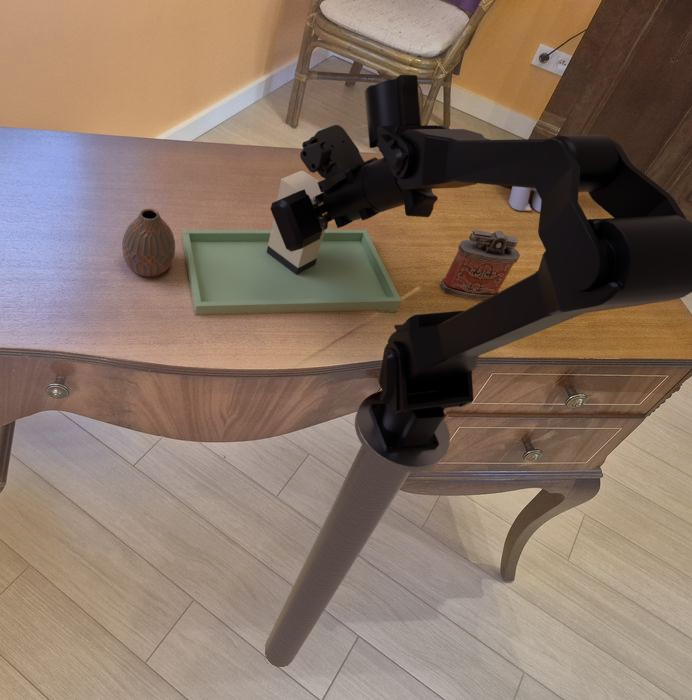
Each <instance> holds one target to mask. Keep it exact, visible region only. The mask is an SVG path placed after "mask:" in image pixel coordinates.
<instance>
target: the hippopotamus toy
mask: <svg viewBox="0 0 692 700" xmlns="http://www.w3.org/2000/svg"><path fill="white" fill-rule="evenodd" d="M509 187H510V188H511V189H510V190H511V191H510V195H509V200H508V205H509V207H511V208H512V209H513V210H515V211H519V212H532V210H535V211H536V212H538V213H540V210H541V198H540V196H539V194H538V192H537V190H536V188H525V187H514V186H509ZM531 191H533V196H532V200H531V204H530V203H529V200H530V195H531ZM532 208H533V209H532Z"/></svg>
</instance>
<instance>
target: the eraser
mask: <svg viewBox="0 0 692 700" xmlns="http://www.w3.org/2000/svg"><path fill="white" fill-rule="evenodd" d="M320 181H321V180H318V179H317V178H315V177H313V176H312V175H310V173H307V172H306V171H304V170H299V171H296V172H295V173H292V174H289V175H287V176H285V177H282V178H281V179H280V184H279V189H278V195H277V200H276V201H278V200H280V199H282V198H284V197H287V196H289V195H291V194H294V193H296V192H298V191H302V190H304V189H305V192H306V194H307V195H309V197H310V199H311V202H312V204H314V200H313V197H314V196H317V195H319V194H321V193H323V192H321V191H320V188H319V186H318V183H317V182H320ZM322 204H324V202H321V203H319V204H318V206H320V205H322ZM325 214H327V212H326V213H324V214H322V216H323V215H325ZM322 218H323V217H322ZM320 219H321V218H320ZM270 228H271V229H270V230H271V233H270V238H269V243H268V248H267V253H268V254H269V255H271V256H272V257H273V258H275V259H276V260H277V261H279V262H280V263H281V264H283V265H284V266H285V267H286V268H288V269H289V270H290V271H292V272H293V273H294V274H296V275H297V274H299V273H301V272H303V271H305V270H306V269H308V268H310V267H312V266H314V265H315V264H316V261H317V257H318V253H319V250H320V246H321V243H322V239H323V235H324V232H325V230H324V231H322V235H321V237H320V239H319V240H317V241H315V242H313V243H311V244H310V245H308V246H306V247H304V248H302V249H299V250H295V251H292V252H291V251H289V250H287V249H286V247H285V244H284V242H283V239H282V237H281V234H280V232H279V229H278V227H277V224H276V222H275V219H274V217H273V220H272V224H271V227H270Z"/></svg>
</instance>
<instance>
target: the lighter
mask: <svg viewBox="0 0 692 700" xmlns="http://www.w3.org/2000/svg"><path fill="white" fill-rule="evenodd" d="M518 242H519V238H517V236H514V235H513V236H511V235H506V234H505V233H504V232H503V231H502V230H496V231H494V232H490V231H484V230H479V229H473V230H472V231H471V233H470V235H469V236H468V239H463V240H461V241H460V243H459V244H458V246H457V249H458V250H457V252H456V254H455V256H454V259H453V260H452V263H451V264H450V267H449V269H448V271H447V273H446V275H445V277H443V279H442V280H441V282H440V284H439V287H440V289H441V291H442V292H444V293H445V294H448V295H452V296H455V297H459V298H464V299H469V300H477V301H478V300H479V301H484V300H486V299H488V298H490V297H491V296H493V295H495V294H497V293H499V290H500V288H501V286H502V285H503V283H504V281H506V278H507V276H508V274H509V273H510V271H511V270H512V268H513V266H514V265H515V263H517V262H518V260H519V258H520V252H519V251H518V250H517V249H516V247H517V244H519V243H518Z"/></svg>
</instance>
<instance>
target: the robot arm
mask: <svg viewBox="0 0 692 700" xmlns="http://www.w3.org/2000/svg"><path fill="white" fill-rule="evenodd" d="M364 100H365V101H364V103H365V111H366V112H365V113H366V114H365V115H366V122H367V125H366V126H367V134H368V145H369V148H370V149H374V148H378V151H379V152H380V153H381V155H382V157H381V158H377V157H371V158H370V159H368V160H364V159H363V157H362V156H361V154H360V149H359V148H358V146H357V144H356V143H355V142H354V141H353V139H352V138H351V137H350V135H349V134H348V132H347V130H345V128H344V127H342V126H341V125H340V124H334V125H331V126H328V127H325V128H323V129H320V130H318V131H316V133H315V134H314V136H311V137H310V138H309V139H308V140H305V141H303V142H302V144H301V146H302V150H301V151H300V153H299V157H300V160H301V162H302V163H303V164H304V165H305V167H306V168H307V170H308V171H309V173H313V174H314V173H318V175H319V176H320V177H321V178H323V179H322V180H319V181H320V182H317V183H318V186H319V188H320V191H321V192H323V193H321V194H319V195H317V196H314V197H313V200H314V204H312V202H311V199H310V197H309V195H307V194H306V192H305V189H304V190H302V191H298V192H296V193H294V194H291V195H289V196H287V197H284V198H282V199H280V200H278V201H277V200H275V201H273V202H271V205H270V211H271V214H272V216H273V218H274V219H275V222H276V224H277V227H278V229H279V232H280V234H281V237H282V239H283V242H284V244H285V247H286V249H287V250H289V251H291V252H292V251H295V250H299V249H302V248H304V247H306V246H308V245H310V244H311V243H313V242H315V241H317V240H319V239H320V237H321V235H322V231H324V230H328V227H329V223H330V222H331V221H334V223H335V225H336V228H337V229H340V228H343V227H345V226H347V225H349V224H351V223H353V222H355V221H357V220H361V221H365V220H369V219H371V218H373V217H375V216H377V215H378V214H380V213H383V212H386V211H389V210H392V209H395V208H398V207H402V206H404V213H405V216H406V217H417V218H429V217H431V215H432V213H433V210H434V206H435V204H436V202H437V201H438V199H439V198H438V196H437V195H435V193H433V190H434V189H437V190H438V189H459V188H464V187H469V186H470V187H471V186H474V185H477V184H481V185H492V186H502V187H510V186H514V187H525V188H536V190H537V192H538V194H539V196H540V198H541V210H540V212H539V220H538V229H537V234H538V236H539V240H540V241H541V243H542V245H543V247H544V252H543V254H542V256H541V260H540V263H539V266H538V270H536V271H535V272H534V273H532V274H531V275H528V276H527V277H525V278H523V279H521V280H520V281H519V280H518V282H515V283H514V284H512V285H510V286H508V287H506V288H505V289H504V288H503V290H501V291H498V293H497V294H495V295H493V296H491V297H490V298H488V299H486V300H481V301H480V302H479V303H477V304H475V305H473V306H471V307H469V308H467V309H465V310H454V311H453V310H452V311H443V312H432V313H431V312H430V313H419V314H418V313H417V314H413V315H412V316H410V317H409V318H408V319H406V320H405V322H404V323H402V324H394V330H395V331H394V332H392V333H391V335H390V336H389V338H388V339H387V344H386V345H385V347H384V349H383V354H382V355H383V356H382V361H381V365H380V366H381V367H380V373H379V379H378V384H379V386H380V388H381V391H382V394H381V396H380V399H381V401H382V402H383V403H379V404H372V405H371V407H370V410H371V413H372V416H373V418H374V421H375V423H376V426H377V429H378V431H379V434H380V436H381V439H382V442H383V444H384V447H385V449H386V450H387V451H389V452H392V451H406V450H419V449H433V448H437V447H438V445H439V442H438V440H437V437H436V435H435V431H436V429H437V428H438V426H439V425H440V423H441V421H442V420H443V419H444V418H445V416H446V413H445V412H444V410H445V409H449V408H457V407H459V408H463V407H467V406H468V405H470V404H472V403H473V402H474V385H473V369H475V368H476V367H477V366H478V363H479V357H481V356H482V355H485V354H487V353H489V352H492V351H494V350H497V349H499V348H502V347H504V346H507V345H509V344H512V343H515V342H517V341H519V340H521V339H525V338H527V337H529V336H532V335H535V334H537V333H540V332H542V331H544V330H546V329H549V328H552V327H554V326H557V325H559V324H562V323H565V322H567V321H569V320H572V319H575V318H576V317H579V316H581V315H585V314H588V313H589V314H590V313H596V312H602V311H611V310H616V309H624V308H632V307H639V306H644V305H645V306H646V305H651V304H657V303H661V302H670V301H674V300H675V301H676V300H679V299H682V298H685V297H686V296H688V295H690V294H692V221H691V220H689V219H688V218H687V217H686V215H685V214H684V212H683V211H682V209H681V207H680V206H679V204H678V202H677V201H676V199H675V198H674V197H673V196H672V195H671V194H670V193H669V192H668V191H667V190H665V189H664V188H663V187H662V186H660V185H659V184H657V182H655V181H654V180H652V178H650V177H649V176H648V175H646V174H645V173H643V171H641V169H639V168H638V167H636V166H635V165H633V163H632V162H631V160H630V158H629V157H628V155H627V153H626V152H625V151H624V148H623V147H622V146H621V144H620V143H619V142H618V141H617V140H616V139H612V138H610V136H608V135H605V134H604V135H603V134H556V135H554V136H551V137H549V138H533V139H532V138H527V139H525V138H524V139H523V138H521V139H519V138H518V139H490V138H487V137H485V136H484V135H483V133H480V132H477V131H473V130H469V129H466V128H449V127H448V126H446V125H436V124H435V125H429V124H428V125H425V124H424V125H422V117H421V116H422V115H421V105H420V95H419V82H418V75H417V74H399V75H398V76H397V77H396V78H392V79H388V80H384V81H380V82H379V83H376V84H371V85H369V86H368V87H366V88H365V90H364ZM579 193H588V195H589V196H590V198H591V199H592V200H593V202H594V203H596V204H597V205H598V206H599V207H601V208H602V209H603V210H604V211H605V212H606V213H608V215H610V216H611V217H608V218H607V217H606V218H588V217H587V216H586V214H585V213H584V210H583V209H582V207H581V204H580V203H579ZM321 202H324V204H322V205H320V206H318V204H319V203H321ZM326 212H327V214H325V215H323V216H322V214H324V213H326ZM322 217H323V218H322ZM320 218H321V219H320ZM373 407H374V408H376V409H374V408H373ZM433 443H435V444H436V445H435V444H433ZM388 446H390V447H391V448H389V447H388Z"/></svg>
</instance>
